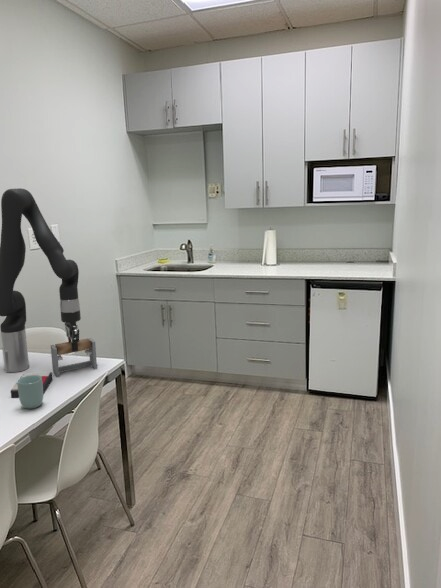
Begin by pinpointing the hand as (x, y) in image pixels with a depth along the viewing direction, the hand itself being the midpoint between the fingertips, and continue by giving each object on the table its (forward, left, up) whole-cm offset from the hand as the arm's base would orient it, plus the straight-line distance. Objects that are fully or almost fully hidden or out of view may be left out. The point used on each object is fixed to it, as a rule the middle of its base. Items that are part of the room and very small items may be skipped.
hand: (73, 349), depth 181 cm
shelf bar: (0, 0, -1) cm, 1 cm away
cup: (-21, -24, -10) cm, 33 cm away
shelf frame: (0, 0, -10) cm, 10 cm away
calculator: (-18, -9, -10) cm, 22 cm away
